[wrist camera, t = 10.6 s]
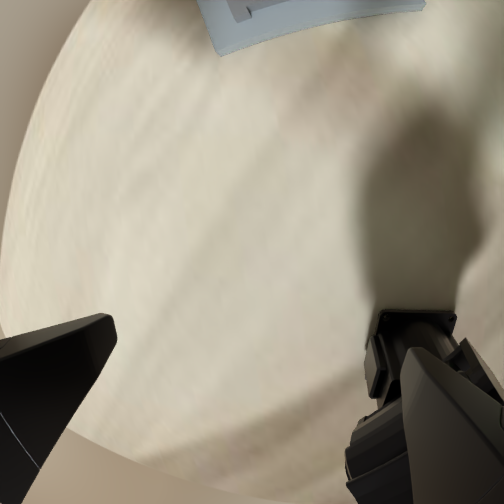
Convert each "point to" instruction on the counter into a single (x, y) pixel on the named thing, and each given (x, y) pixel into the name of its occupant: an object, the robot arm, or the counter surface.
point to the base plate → (284, 17)
